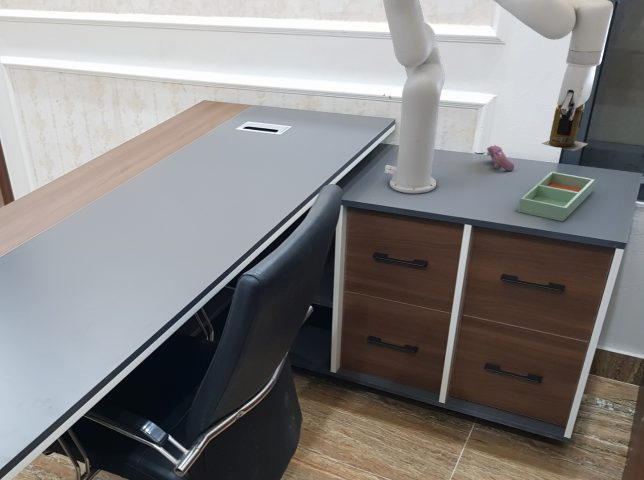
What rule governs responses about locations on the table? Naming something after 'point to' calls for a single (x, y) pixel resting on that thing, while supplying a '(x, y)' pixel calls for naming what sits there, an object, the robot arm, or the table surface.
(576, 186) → the tray
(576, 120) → the condiment
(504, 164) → the pink animal figurine
